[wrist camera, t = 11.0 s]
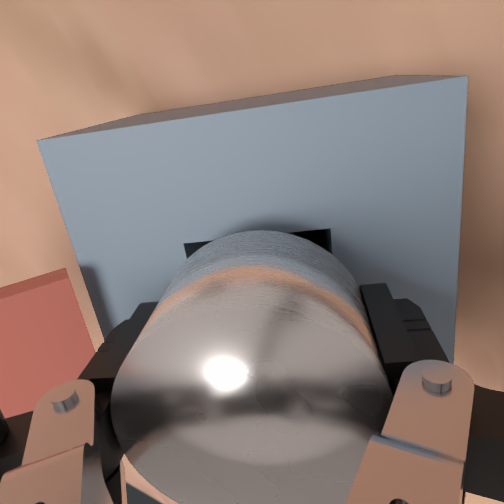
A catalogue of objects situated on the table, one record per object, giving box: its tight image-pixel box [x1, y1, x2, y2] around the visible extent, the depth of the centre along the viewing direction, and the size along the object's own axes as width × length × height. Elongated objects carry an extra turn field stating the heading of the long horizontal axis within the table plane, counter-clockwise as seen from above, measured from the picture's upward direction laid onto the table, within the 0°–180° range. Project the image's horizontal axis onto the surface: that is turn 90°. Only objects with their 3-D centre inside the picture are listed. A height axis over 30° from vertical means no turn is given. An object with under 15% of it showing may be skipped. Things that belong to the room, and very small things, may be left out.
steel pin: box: [110, 230, 394, 504], centre depth 14 cm, size 6×6×11 cm
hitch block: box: [37, 75, 468, 364], centre depth 17 cm, size 12×12×8 cm
